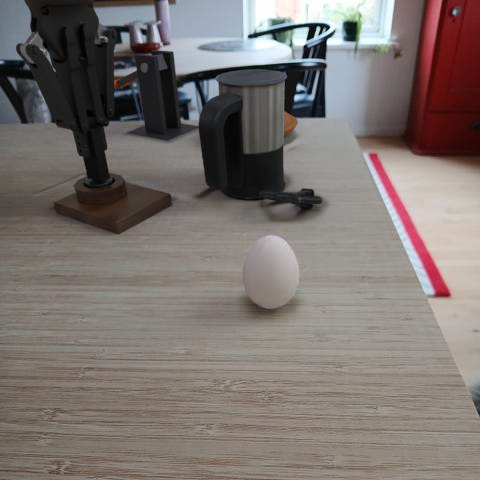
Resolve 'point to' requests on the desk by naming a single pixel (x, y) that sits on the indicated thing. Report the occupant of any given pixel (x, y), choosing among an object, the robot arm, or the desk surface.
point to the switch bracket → (159, 98)
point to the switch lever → (126, 80)
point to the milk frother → (248, 138)
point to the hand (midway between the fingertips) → (98, 178)
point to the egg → (270, 272)
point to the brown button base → (112, 204)
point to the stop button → (98, 183)
